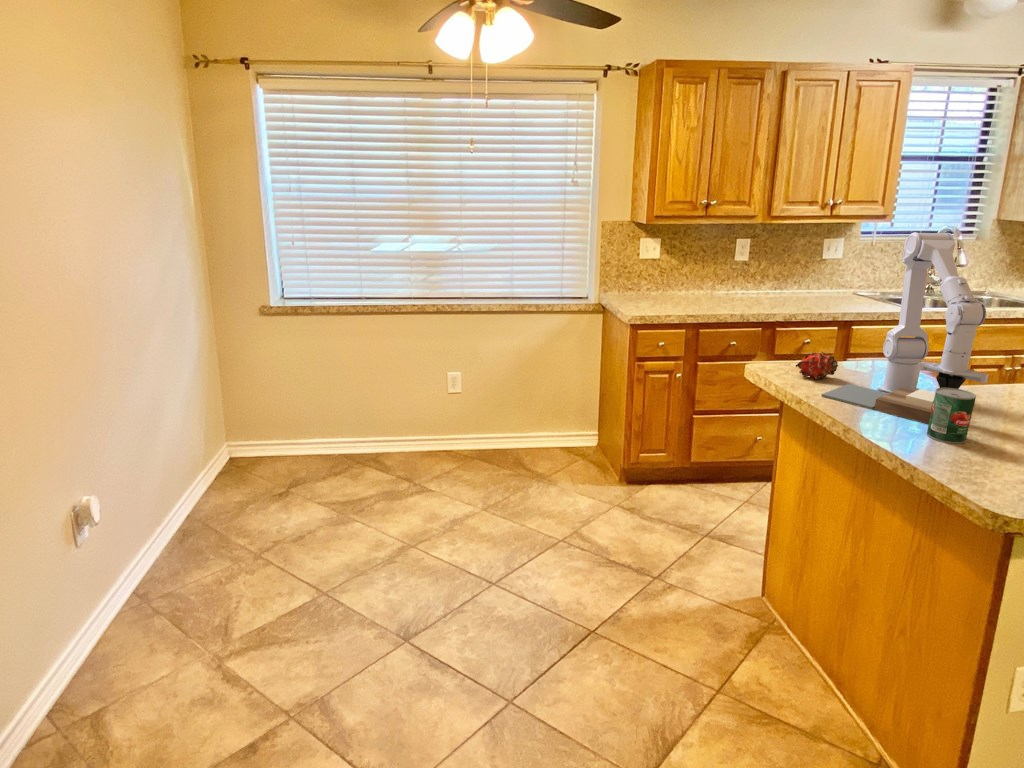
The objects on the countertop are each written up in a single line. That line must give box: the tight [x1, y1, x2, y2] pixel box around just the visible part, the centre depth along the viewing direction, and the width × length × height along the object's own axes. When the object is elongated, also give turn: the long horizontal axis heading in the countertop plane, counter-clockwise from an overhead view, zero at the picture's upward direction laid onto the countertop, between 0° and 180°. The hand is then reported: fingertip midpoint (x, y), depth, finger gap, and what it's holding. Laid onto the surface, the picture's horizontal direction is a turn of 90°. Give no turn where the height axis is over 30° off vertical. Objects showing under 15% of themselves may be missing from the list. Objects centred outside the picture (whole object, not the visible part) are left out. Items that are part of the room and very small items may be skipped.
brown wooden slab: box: [873, 388, 932, 425], centre depth 174 cm, size 16×14×3 cm
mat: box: [821, 383, 889, 410], centre depth 184 cm, size 16×14×1 cm
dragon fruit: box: [795, 351, 839, 380], centre depth 201 cm, size 8×8×12 cm
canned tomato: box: [926, 387, 977, 445], centre depth 155 cm, size 8×8×11 cm
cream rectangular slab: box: [905, 388, 936, 409], centre depth 171 cm, size 9×6×2 cm, turn 130°
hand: (945, 403), depth 167 cm, fingers closed
